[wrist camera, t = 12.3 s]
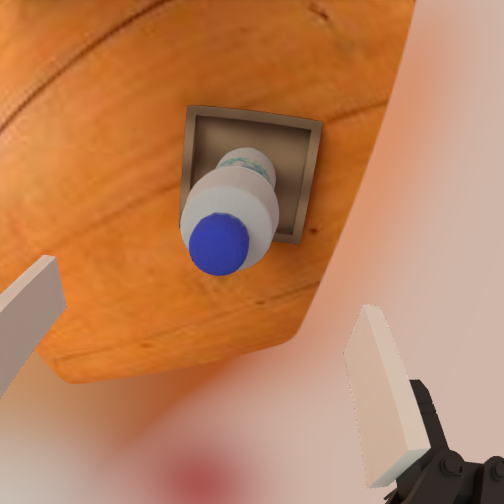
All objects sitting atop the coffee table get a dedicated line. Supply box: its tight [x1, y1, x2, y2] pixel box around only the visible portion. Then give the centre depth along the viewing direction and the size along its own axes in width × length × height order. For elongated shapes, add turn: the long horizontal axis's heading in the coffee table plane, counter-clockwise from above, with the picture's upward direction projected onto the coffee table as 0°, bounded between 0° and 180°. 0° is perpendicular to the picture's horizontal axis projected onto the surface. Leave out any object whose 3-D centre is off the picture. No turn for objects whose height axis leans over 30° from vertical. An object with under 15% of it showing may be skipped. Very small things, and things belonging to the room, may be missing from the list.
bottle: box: [180, 147, 279, 276], centre depth 26 cm, size 7×7×20 cm
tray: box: [179, 105, 323, 245], centre depth 34 cm, size 14×14×2 cm
